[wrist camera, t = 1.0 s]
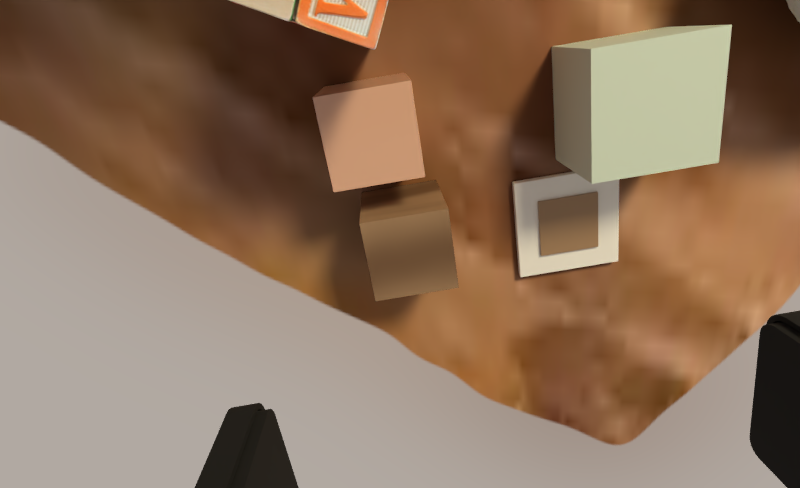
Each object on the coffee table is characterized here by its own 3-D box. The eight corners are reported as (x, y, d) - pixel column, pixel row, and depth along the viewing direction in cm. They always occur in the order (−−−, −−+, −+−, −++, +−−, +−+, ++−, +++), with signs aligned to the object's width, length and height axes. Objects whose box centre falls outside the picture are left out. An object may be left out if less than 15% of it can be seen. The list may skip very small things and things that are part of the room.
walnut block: (361, 192, 33) (359, 223, 27) (435, 179, 33) (448, 208, 27) (375, 259, 35) (375, 301, 29) (445, 247, 35) (458, 287, 29)
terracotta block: (324, 86, 30) (312, 97, 25) (404, 72, 30) (411, 80, 25) (340, 165, 32) (333, 192, 27) (416, 152, 32) (425, 176, 26)
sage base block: (550, 46, 30) (590, 49, 24) (665, 26, 30) (731, 24, 24) (554, 159, 33) (591, 184, 27) (660, 141, 33) (718, 162, 27)
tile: (512, 181, 33) (514, 184, 32) (615, 163, 33) (620, 166, 32) (518, 274, 36) (521, 278, 35) (614, 258, 36) (619, 262, 35)
